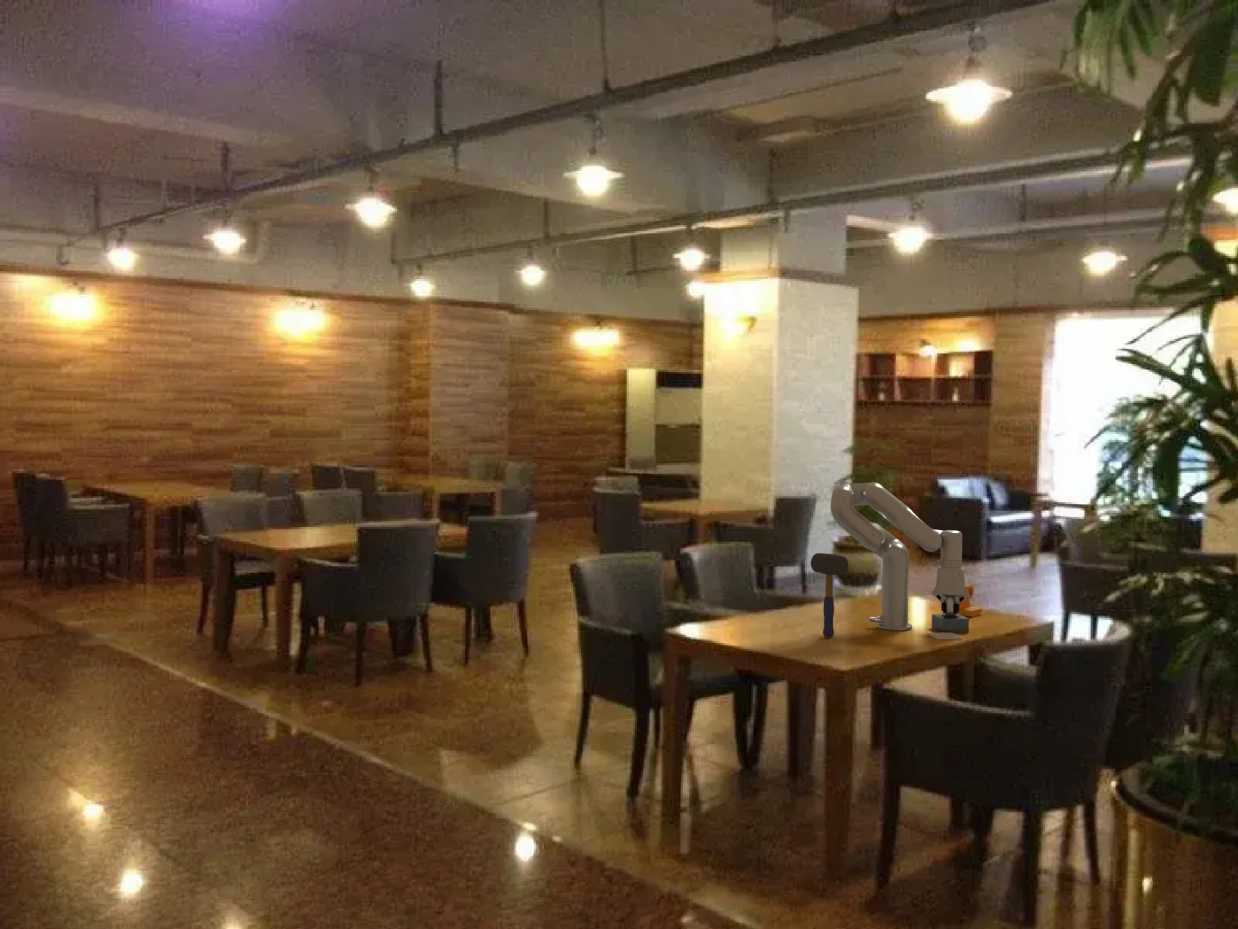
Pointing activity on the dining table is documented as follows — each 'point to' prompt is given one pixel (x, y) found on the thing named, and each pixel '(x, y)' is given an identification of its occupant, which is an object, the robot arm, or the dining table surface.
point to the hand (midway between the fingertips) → (950, 613)
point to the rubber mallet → (829, 583)
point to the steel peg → (950, 606)
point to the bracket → (968, 605)
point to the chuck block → (950, 623)
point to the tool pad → (944, 635)
